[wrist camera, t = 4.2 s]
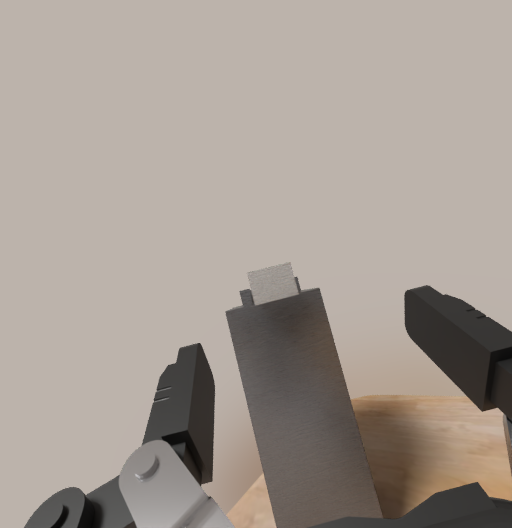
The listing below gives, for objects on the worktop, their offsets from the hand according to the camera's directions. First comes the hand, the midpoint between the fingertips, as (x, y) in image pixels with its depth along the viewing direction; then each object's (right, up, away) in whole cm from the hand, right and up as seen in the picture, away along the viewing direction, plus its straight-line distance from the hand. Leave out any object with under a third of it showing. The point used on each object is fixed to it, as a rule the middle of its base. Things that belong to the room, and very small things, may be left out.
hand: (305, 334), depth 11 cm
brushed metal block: (0, -2, +25) cm, 25 cm away
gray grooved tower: (+8, -33, +28) cm, 44 cm away
